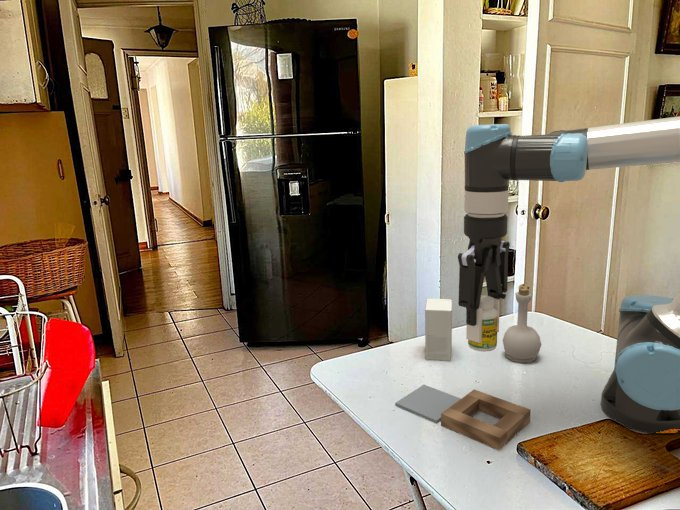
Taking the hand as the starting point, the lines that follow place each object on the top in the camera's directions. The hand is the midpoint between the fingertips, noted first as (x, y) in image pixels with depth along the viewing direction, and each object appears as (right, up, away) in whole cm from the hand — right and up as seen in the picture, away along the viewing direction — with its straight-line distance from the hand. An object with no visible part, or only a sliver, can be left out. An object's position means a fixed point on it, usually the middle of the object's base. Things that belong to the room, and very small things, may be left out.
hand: (482, 335), depth 99 cm
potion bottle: (+17, -10, +28) cm, 34 cm away
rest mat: (-9, -15, +8) cm, 19 cm away
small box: (-3, -9, +31) cm, 33 cm away
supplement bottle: (0, -2, +1) cm, 3 cm away
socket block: (+1, -17, +1) cm, 17 cm away
